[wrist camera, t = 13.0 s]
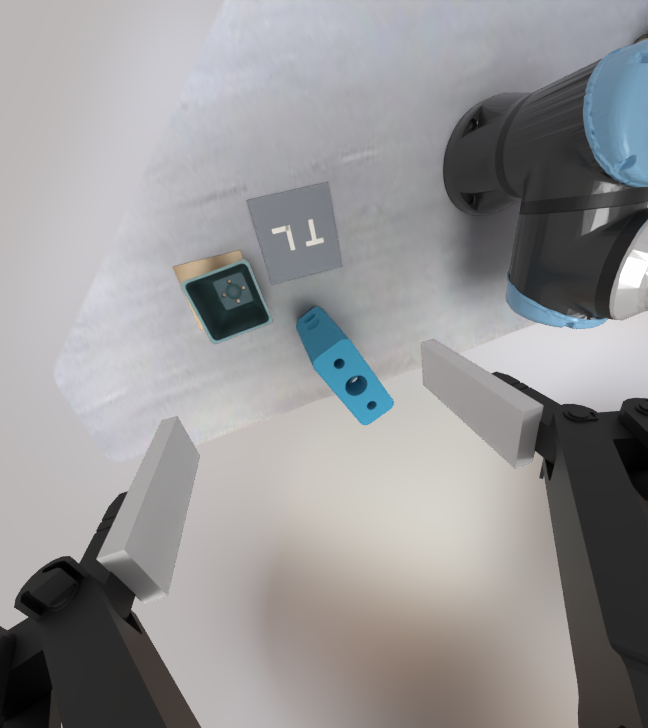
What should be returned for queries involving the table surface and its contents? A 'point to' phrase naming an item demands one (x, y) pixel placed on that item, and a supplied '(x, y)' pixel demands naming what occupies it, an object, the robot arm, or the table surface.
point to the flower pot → (227, 301)
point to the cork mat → (205, 270)
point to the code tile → (296, 232)
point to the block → (342, 366)
